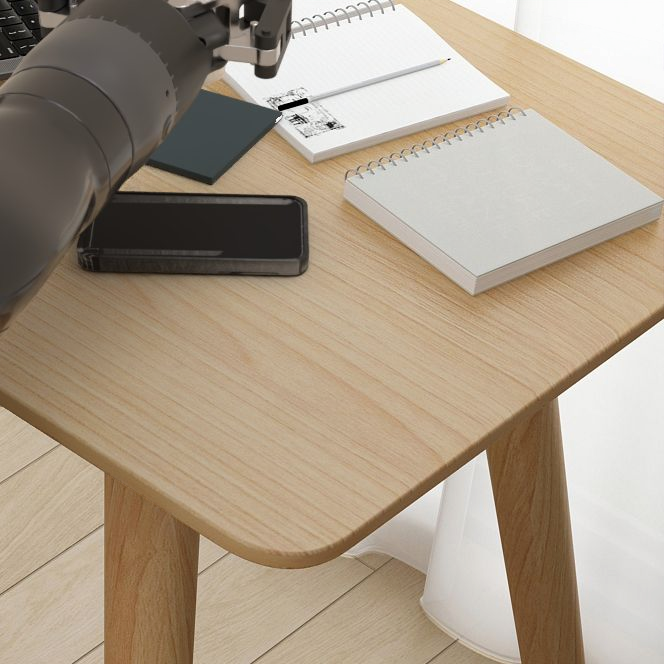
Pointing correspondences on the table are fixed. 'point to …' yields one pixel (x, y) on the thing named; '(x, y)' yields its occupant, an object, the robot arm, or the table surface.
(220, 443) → the table surface
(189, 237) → the phone
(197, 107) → the mat
